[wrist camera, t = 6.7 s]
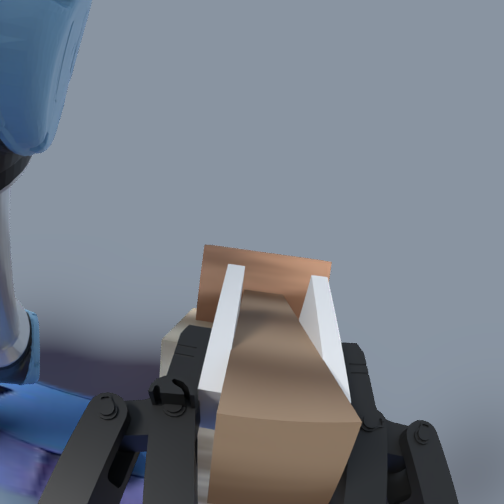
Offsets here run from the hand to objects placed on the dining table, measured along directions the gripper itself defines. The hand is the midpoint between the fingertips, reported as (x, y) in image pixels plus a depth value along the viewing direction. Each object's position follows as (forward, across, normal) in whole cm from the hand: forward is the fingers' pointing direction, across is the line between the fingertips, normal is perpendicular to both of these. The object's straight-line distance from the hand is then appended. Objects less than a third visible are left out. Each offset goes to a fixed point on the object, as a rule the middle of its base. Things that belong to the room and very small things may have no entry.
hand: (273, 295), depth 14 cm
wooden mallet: (0, 0, -5) cm, 5 cm away
